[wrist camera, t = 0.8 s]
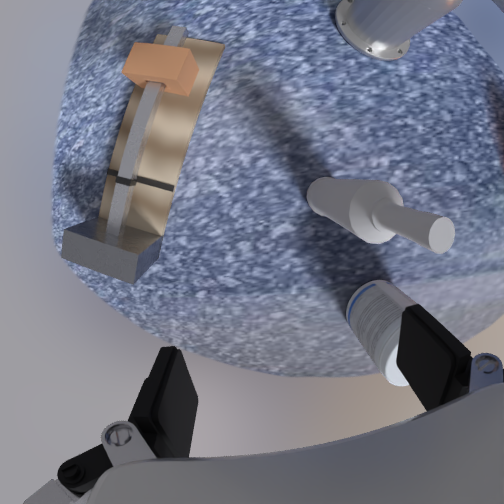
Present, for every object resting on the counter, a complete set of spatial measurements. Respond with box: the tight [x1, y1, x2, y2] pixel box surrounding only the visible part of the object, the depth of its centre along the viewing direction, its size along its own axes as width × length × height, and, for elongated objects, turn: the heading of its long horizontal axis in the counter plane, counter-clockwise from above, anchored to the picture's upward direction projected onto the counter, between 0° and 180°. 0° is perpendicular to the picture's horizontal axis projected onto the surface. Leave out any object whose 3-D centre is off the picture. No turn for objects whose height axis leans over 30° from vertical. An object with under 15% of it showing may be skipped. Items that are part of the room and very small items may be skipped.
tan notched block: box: [121, 42, 199, 97], centre depth 27 cm, size 4×7×7 cm, turn 72°
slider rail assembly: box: [61, 26, 189, 285], centre depth 30 cm, size 30×10×10 cm, turn 162°
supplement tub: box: [346, 280, 438, 386], centre depth 34 cm, size 10×10×15 cm
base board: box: [99, 34, 225, 259], centre depth 34 cm, size 31×10×1 cm, turn 162°
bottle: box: [307, 177, 455, 254], centre depth 25 cm, size 5×5×25 cm
